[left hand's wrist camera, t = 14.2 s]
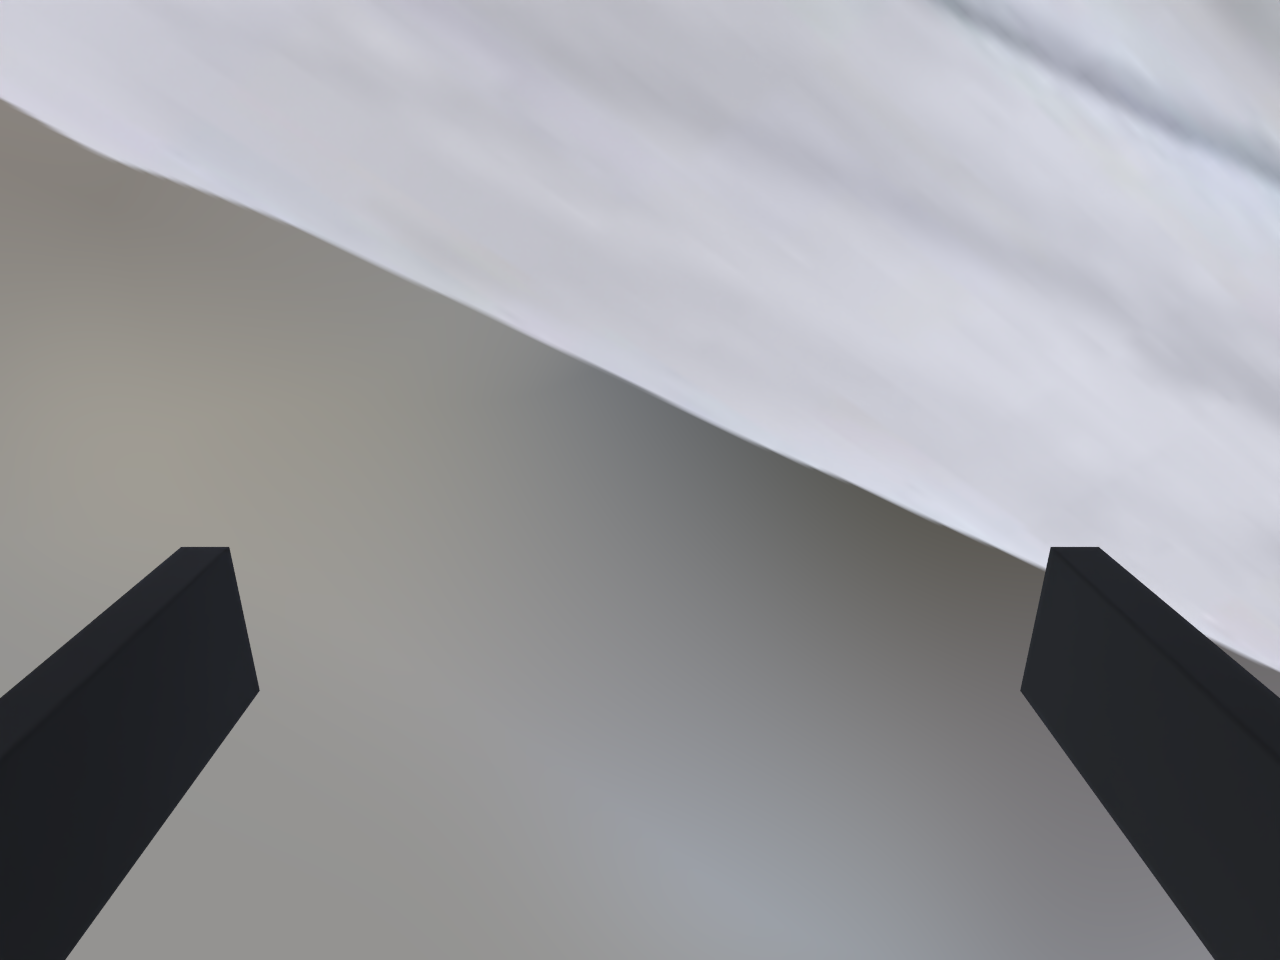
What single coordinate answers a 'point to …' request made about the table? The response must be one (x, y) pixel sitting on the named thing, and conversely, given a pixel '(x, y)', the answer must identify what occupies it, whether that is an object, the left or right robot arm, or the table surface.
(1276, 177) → the table surface
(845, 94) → the table surface
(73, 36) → the table surface
